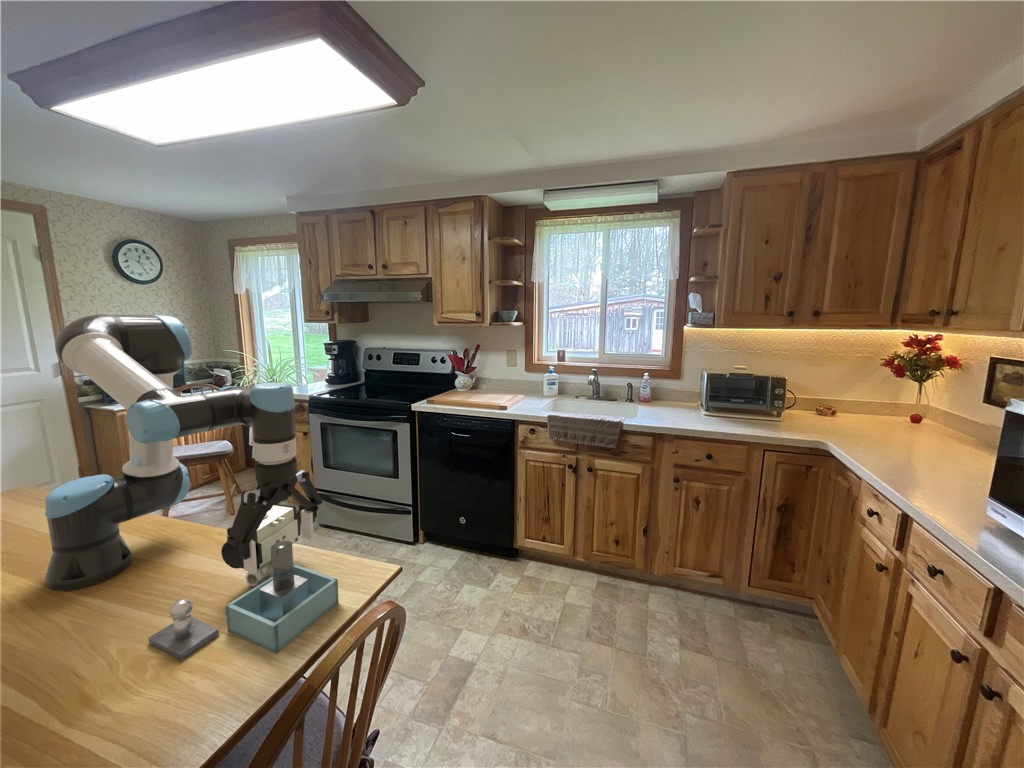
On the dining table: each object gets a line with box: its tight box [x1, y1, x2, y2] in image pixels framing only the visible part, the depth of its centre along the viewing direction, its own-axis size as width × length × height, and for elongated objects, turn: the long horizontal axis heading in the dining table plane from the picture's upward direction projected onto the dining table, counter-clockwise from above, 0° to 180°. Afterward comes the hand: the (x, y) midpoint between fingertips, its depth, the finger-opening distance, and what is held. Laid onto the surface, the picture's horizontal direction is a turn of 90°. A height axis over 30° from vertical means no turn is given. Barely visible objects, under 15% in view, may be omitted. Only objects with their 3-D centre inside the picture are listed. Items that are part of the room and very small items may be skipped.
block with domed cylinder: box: [259, 541, 309, 623], centre depth 89 cm, size 7×7×16 cm
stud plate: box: [148, 598, 220, 662], centre depth 82 cm, size 10×7×9 cm
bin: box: [225, 563, 340, 655], centre depth 90 cm, size 14×16×6 cm
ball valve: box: [220, 503, 302, 587], centre depth 102 cm, size 18×8×18 cm, turn 168°
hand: (281, 553), depth 88 cm, fingers open, 13 cm apart
